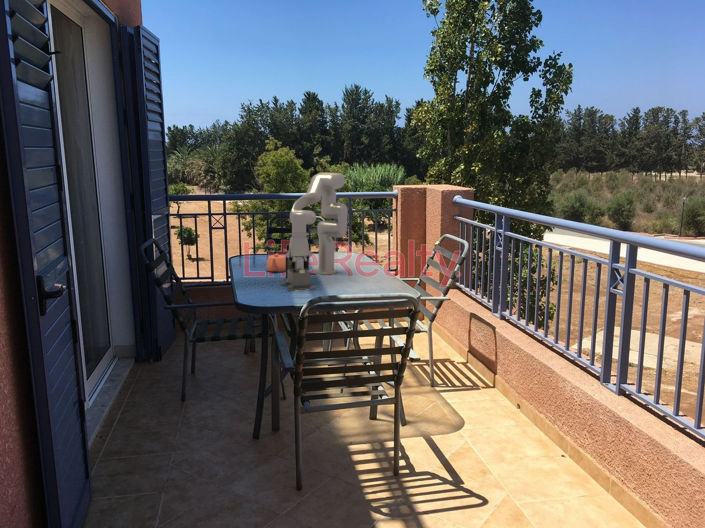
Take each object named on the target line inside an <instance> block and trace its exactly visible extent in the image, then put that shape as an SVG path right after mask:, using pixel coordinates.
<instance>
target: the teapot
mask: <svg viewBox="0 0 705 528" xmlns="http://www.w3.org/2000/svg"><path fill="white" fill-rule="evenodd" d="M265 267H266V271H267V272H271V273H273V272H278V273H282V272H286V256H285V255H280V254H279V253H274V254H272V255H269V256H268V257H267V259H266V266H265Z"/></svg>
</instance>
